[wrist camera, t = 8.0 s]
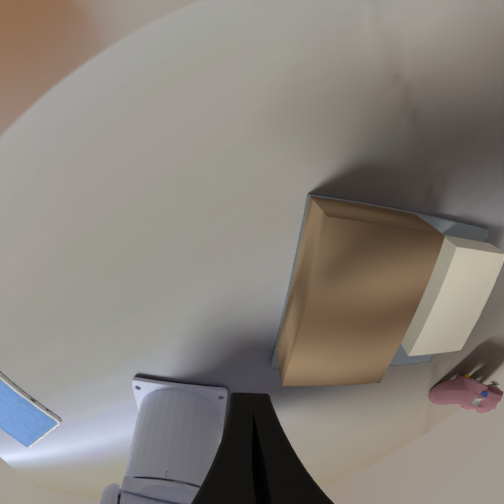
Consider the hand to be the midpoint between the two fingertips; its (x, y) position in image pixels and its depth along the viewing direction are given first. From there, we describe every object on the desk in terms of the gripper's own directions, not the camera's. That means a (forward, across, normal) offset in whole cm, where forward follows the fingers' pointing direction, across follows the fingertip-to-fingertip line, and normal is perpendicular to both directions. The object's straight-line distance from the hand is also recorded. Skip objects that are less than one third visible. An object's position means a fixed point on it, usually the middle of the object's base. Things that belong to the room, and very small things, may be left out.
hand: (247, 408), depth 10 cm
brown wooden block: (+9, -6, 0) cm, 11 cm away
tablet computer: (+10, +30, +25) cm, 40 cm away
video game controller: (+10, -27, +12) cm, 31 cm away
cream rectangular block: (+7, -16, 0) cm, 17 cm away
